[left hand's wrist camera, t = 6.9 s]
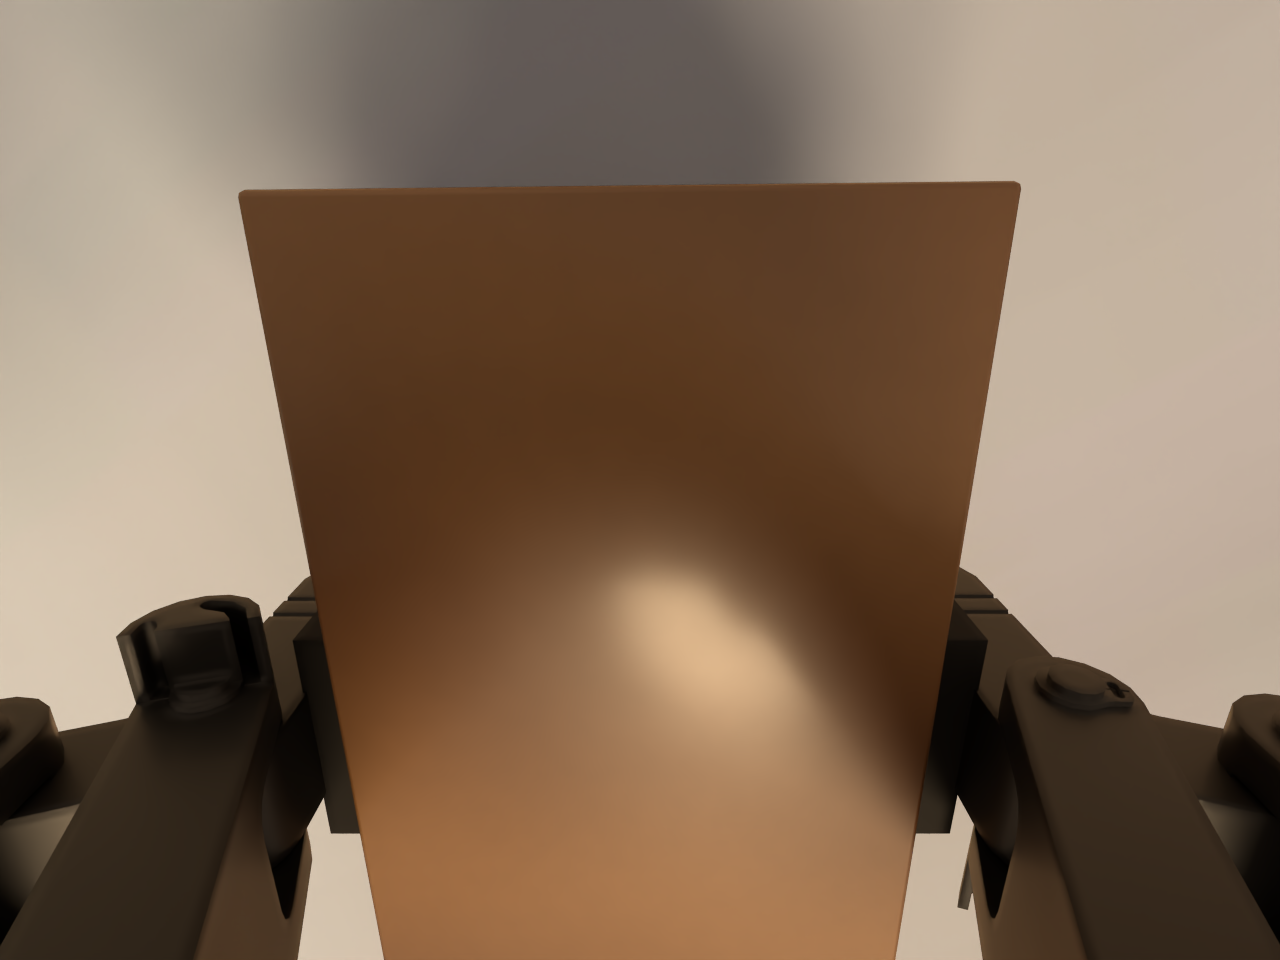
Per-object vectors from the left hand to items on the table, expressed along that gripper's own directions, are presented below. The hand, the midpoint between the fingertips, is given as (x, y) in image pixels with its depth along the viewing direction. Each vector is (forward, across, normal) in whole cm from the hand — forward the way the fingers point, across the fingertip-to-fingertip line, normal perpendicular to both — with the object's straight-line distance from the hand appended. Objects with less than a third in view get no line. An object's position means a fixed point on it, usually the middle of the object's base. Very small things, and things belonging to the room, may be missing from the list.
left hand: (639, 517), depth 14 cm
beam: (0, 0, -31) cm, 31 cm away
